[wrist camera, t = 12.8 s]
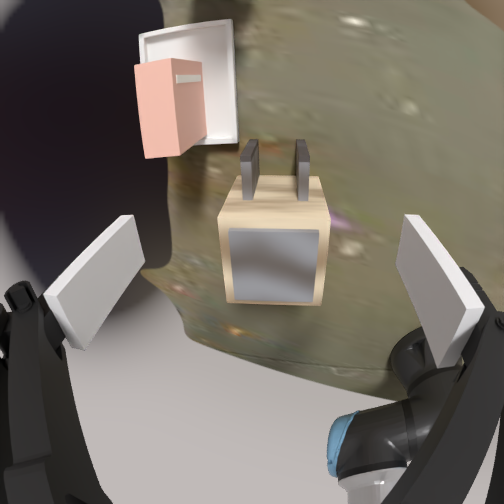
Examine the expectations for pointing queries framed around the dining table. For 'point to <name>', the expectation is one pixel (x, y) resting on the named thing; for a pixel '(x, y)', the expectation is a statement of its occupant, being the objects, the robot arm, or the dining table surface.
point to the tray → (203, 70)
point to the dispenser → (274, 234)
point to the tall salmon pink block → (170, 106)
